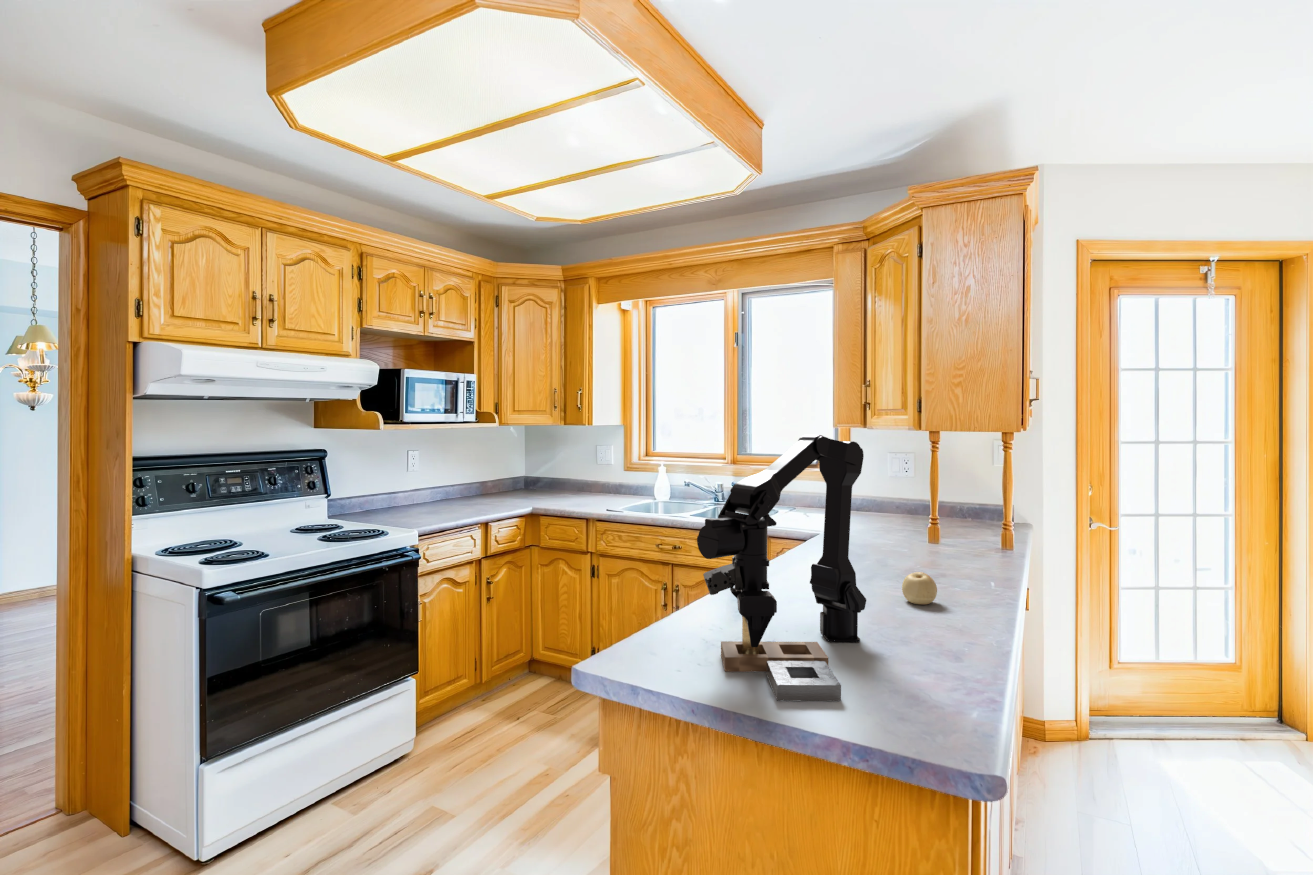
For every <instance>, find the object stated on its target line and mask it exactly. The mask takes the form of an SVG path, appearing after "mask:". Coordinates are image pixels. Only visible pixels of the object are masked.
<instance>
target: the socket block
mask: <svg viewBox="0 0 1313 875" xmlns="http://www.w3.org/2000/svg"><path fill="white" fill-rule="evenodd" d="M766 678H767V680H768V682H769V685H770V686H771V689H772V692H773V695H774V697H775V699H776V702H778V701H779V702H780V701H782V702H792V701H793V702H815V701H816V702H842V684H841V682H840V681H839V680H838V678H837V677H836V675H835V674H834V673H833V671H832V670H831V668H830V667H829V664H828V665H827V663H826V662H825V661H767V672H766Z"/></svg>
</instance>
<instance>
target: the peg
mask: <svg viewBox="0 0 1313 875" xmlns="http://www.w3.org/2000/svg"><path fill="white" fill-rule="evenodd" d="M741 618H742V628H741V629H742V631H741V632H742V637H741V638H742V639H741V640H742V654H759V645H758V647H751V643H750V637H749V631H748V625H747V620H746V618H744V617H743V616H742V615H741Z"/></svg>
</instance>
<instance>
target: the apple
mask: <svg viewBox="0 0 1313 875" xmlns="http://www.w3.org/2000/svg"><path fill="white" fill-rule="evenodd" d="M901 590H902V595H903V596H904V598H905V599H906V600H907V602H909V603H911V604H914V605H922V606H923V605H929V604H931V603H932V602H934V601H935V599H936V598H937V595H938V587H937V584H936V582H935V580H934V579H933V578H932V577H931V575H928V574H927V573H925V572H922V571H915V572H912V573H909V574H908V575H906V576H905V578H904V579H903V582H902V586H901Z"/></svg>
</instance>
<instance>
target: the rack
mask: <svg viewBox="0 0 1313 875" xmlns="http://www.w3.org/2000/svg"><path fill="white" fill-rule="evenodd" d="M720 656H721V660H722V665H723V668H724V671H725V672H745V673H746V672H748V673H749V672H751V673H752V672H757V673H758V672H760V673H761V672H764V673H765V672H766V673H767V661H825V662H826V663H827V665H828V666H829V657H828V655H827V654H826V652H825V651H824V649H823V647H822V646H821V645H820V643H819V642H818V641H760V643H759V654H742V641H738V640H737V641H732V640H730V641H727V640H726V641H722V640H721V641H720Z"/></svg>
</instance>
